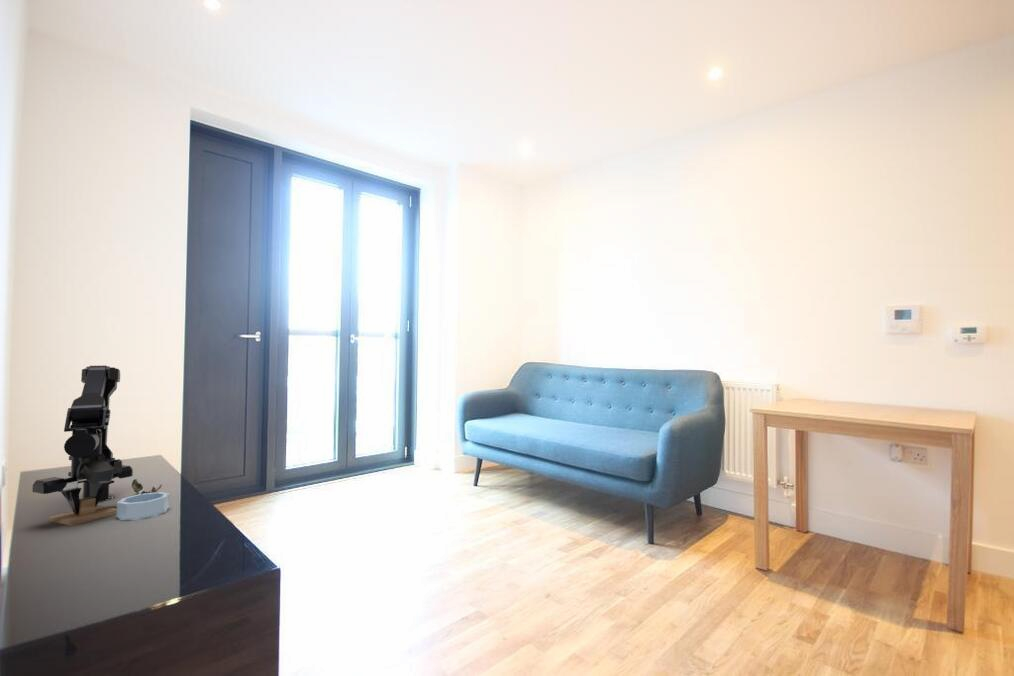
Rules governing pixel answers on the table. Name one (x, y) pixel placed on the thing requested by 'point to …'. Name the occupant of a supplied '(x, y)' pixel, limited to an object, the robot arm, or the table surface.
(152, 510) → the bowl
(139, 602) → the table surface
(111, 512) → the lid
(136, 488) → the eagle figurine
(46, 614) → the table surface
